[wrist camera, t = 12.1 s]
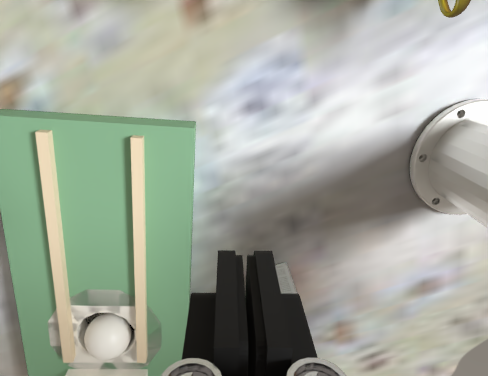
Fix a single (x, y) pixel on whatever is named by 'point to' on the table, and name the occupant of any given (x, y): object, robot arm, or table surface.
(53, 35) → the table surface
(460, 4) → the ceramic cup
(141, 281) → the green
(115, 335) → the ball
